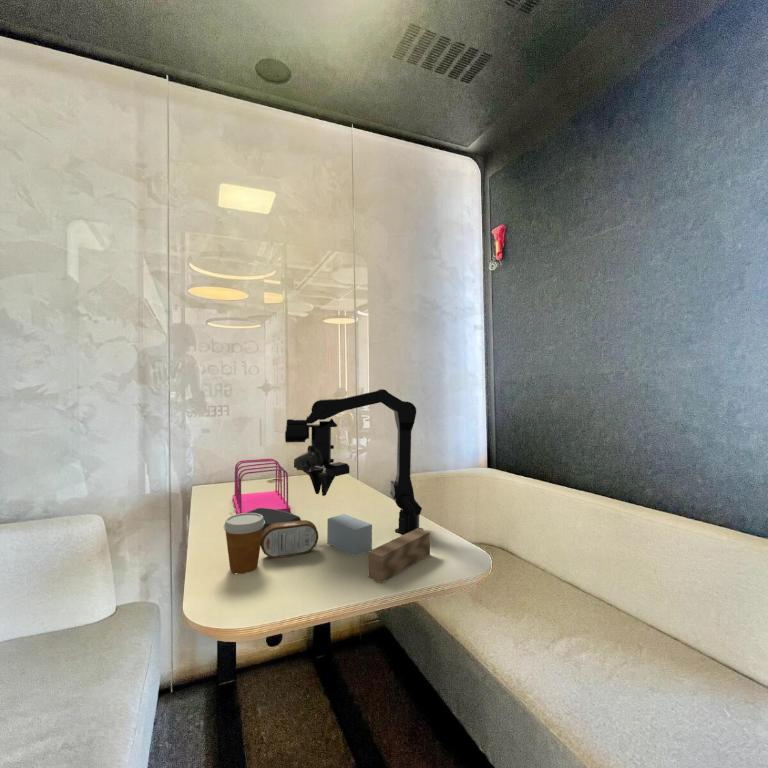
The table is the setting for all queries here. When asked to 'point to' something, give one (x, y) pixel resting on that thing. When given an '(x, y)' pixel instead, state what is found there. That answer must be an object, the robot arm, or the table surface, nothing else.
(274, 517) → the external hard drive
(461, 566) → the table surface
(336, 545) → the block
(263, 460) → the file sorter
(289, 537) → the tin
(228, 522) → the disposable coffee cup
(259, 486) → the table surface
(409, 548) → the batten
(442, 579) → the table surface
